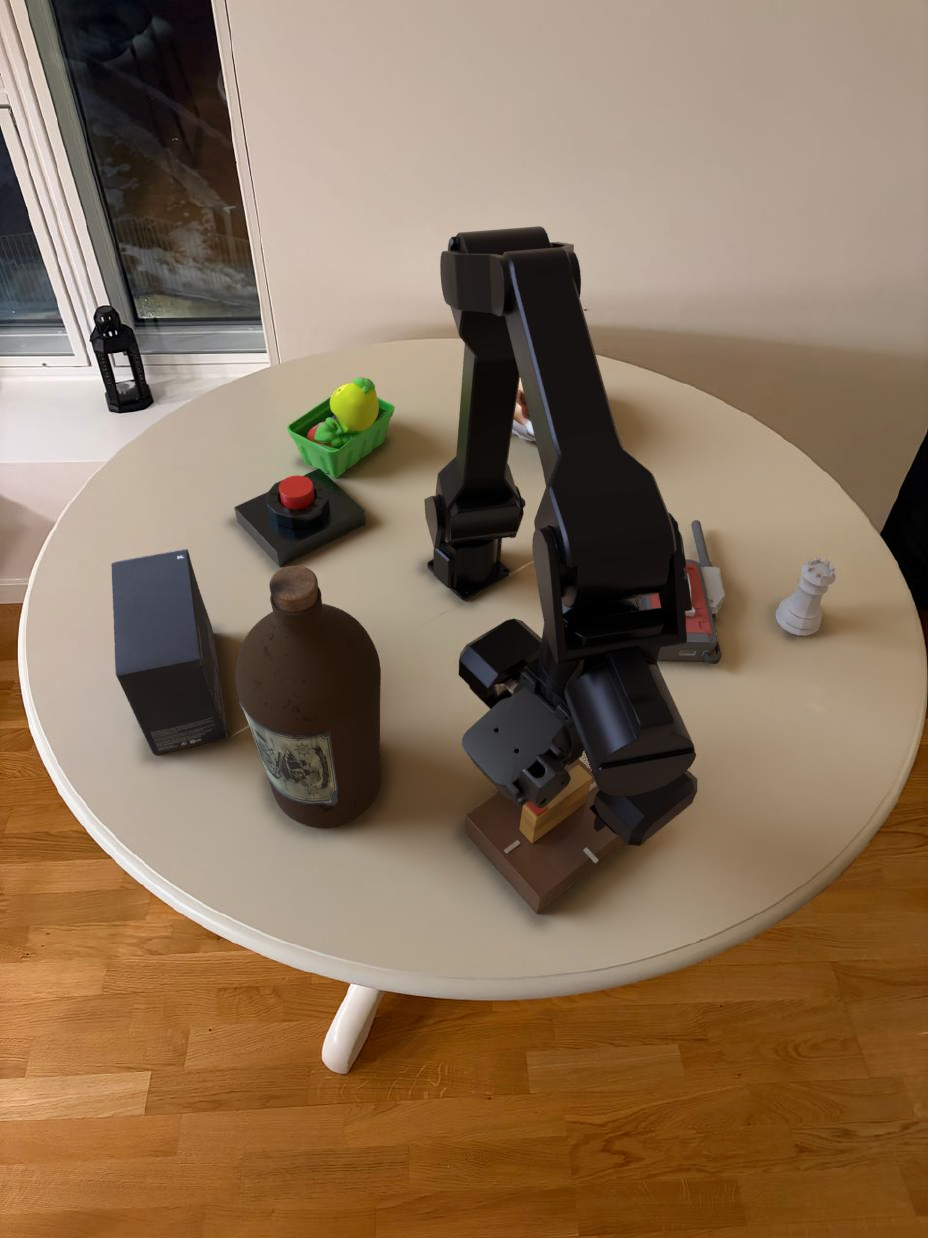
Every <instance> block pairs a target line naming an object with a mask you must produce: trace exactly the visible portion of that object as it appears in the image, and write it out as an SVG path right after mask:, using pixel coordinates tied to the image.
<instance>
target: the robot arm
mask: <svg viewBox="0 0 928 1238" xmlns="http://www.w3.org/2000/svg"><path fill="white" fill-rule="evenodd" d="M439 261H440V262H439V264H440V265H439V272H440V273H439V275H440V284H441V291H442V296H443V299H444V302H445V303H446V305H448V306H449V307H450V311H451V314H452V317H453V320H454V321H453V322H454V324H455V328H456V330H457V334H458V336H459V338H460V339H461V341H462V342H463V343H464V348H463V362H462V375H461V387H460V400H459V414H458V415H459V416H458V428H457V443H456V452H455V453H456V454H455V456H454V458H452V459H451V460H450V461H449V462H448V463H447V464H446V465H445V466H444V467H443V468H442V469H441V470H440V471H438V473H437V477H436V485H435V486H436V487H435V495H430V496H428V497H426V498H424V499H423V500H424V502H423V503H424V514H425V521H426V525H427V529H428V532H429V536H430V539H431V542H432V546H433V558H432V559H430V560H428V561H427V564H426V567H427V569H428V570H429V572H431V573H432V574H433V576H434V577H435V578H436V579H437V580H438V581H439V582H440V583H442V585H444V587H446V588H447V589H449V590H451V592H453V593H454V594H455V595H456V596H457V597H458V598H459V599H460V600H462V601H468V600H470V599H471V598H473V597H475V596H477V595H478V594H481V593H482V592H483V591H485V590H487V589H488V588H490V587H492V586H494V585H495V584H497V583H499V582H501V581H502V580H504V579H505V578H507V577H509V576H510V574H511V569H510V568H509V567H508V566H506V565H505V564H504V563H503V562H502V561H501V557H502V544H503V539H506V538H509V539H514V538H515V539H516V537H517V534H518V532H519V530H520V526H521V524H522V520H523V517H524V514H525V513H524V512H525V511H524V508H525V507H526V499H525V498H524V497H522V494H521V491H520V488H519V487H518V485H516V484H515V481H514V478H513V474H512V471H511V467H510V464H509V463H508V462H509V456H510V448H511V442H512V436H513V435H512V434H513V433H512V429H513V422H514V415H515V409H516V402H517V395H518V388H519V381H520V379H521V383H522V387H523V391H524V395H525V399H526V403H527V407H528V411H529V415H530V419H531V424H532V428H533V432H534V436H535V440H536V442H535V444H536V448H537V451H538V456H539V459H540V463H541V464H540V465H541V467H542V468H541V469H542V473H543V478H544V483H545V489H544V491H543V495H542V498H541V500H540V503H539V506H538V509H537V511H536V514H535V517H534V521H533V526H534V531H533V533H532V534H533V535H532V544H531V545H532V546H531V547H532V548H531V549H532V550H531V551H532V561H533V569H534V573H535V574H534V575H535V579H536V584H537V585H536V586H537V590H538V596H539V602H540V607H541V614H542V618H543V627H542V635H541V636H540V635H538V633H536V632H535V631H534V630H533V629H532V628H531V627H530V626H529V625H527V623H526V622H524V621H523V620H521V619H518V618H510V619H507V620H503V622H501V623H499V624H498V625H496V626H495V627H493V628H491V629H490V630H488V631H486V632H485V633H483V634H481V635H480V636H478V637H476V638H475V639H473V640H472V641H470V642H467V643H466V644H465V646H464V647H463V649H462V650H461V651H460V653H459V657H458V676H459V677H460V678H461V680H463V682H465V683H466V684H467V685H468V687H469V689H470V691H471V692H473V694H474V695H475V696H476V697H477V698H478V699H479V700H480V701H481V702H482V703H483V704H484V705H485V706H486V707H487V708H488V709H489V710H488V711H487V712H486V713H485V714H483V716H481V717H480V718H479V719H478V720H477V721H476V722H475V723H474V724H473V725H472V726H470V727H469V728H468V729H467V730H466V731H465V733H464V734H463V736H462V738H461V746H462V748H463V750H464V752H465V753H466V754H467V756H468V758H469V759H470V760H471V761H472V763H473V764H474V766H475V768H477V770H479V771H480V772H481V774H482V775H483V776H484V777H485V778H486V779H488V781H489V782H490V783H491V784H492V785H493V786H494V787H495V788H496V789H497V790H498V792H499V791H500V792H501V793H502V795H503V796H505V797H506V798H508V799H512V800H513V801H514V802H515V803H516V804H517V805H518V806H519V807H522V806H523V805H525V804H526V803H527V802H532V803H533V804H534V805H535V806H536V807H537V808H543V807H545V806H546V805H547V804H548V803H550V802H551V801H552V800H553V799H554V798H555V797H556V796H557V795H558V794H559V793H560V792H561V791H562V790H563V789H564V788H565V787H566V786H567V785H568V784H569V782H570V780H571V776H570V774H569V772H568V771H567V770H566V769H565V766H566V765H568V766H569V765H570V764H572V763H573V762H574V761H576V760H577V759H580V758H582V756H583V755H584V753H585V757H586V759H587V762H588V765H589V767H590V768H589V769H590V770H591V771H592V773H593V776H594V779H595V782H596V784H597V786H598V788H599V789H600V790H599V791H598V792H597V794H596V795H595V799H594V804H593V805H592V806H591V807H589V809H590V810H591V811H592V812H593V813H594V814H595V815H596V817H595V820H594V829H595V830H596V831H597V832H599V831H600V830H602V829H603V828H604V827H606V826H607V827H608V828H609V829H610V830H611V831H612V832H613V833H614V834H616V835H619V836H620V837H621V838H622V839H623V840H624V841H625V844H627V845H628V846H636V847H641V846H642V845H643V844H644V843H646V842H647V841H648V840H650V839H651V838H652V837H653V836H654V835H655V834H657V833H658V832H659V831H660V830H662V829H663V828H664V827H665V826H666V825H668V824H669V823H671V821H673V819H676V817H678V816H679V815H680V814H681V813H683V812H684V811H685V810H686V809H687V808H689V807H690V806H691V805H692V804H693V802H694V800H695V798H696V796H697V793H698V778H697V777H696V776H695V775H694V774H693V773H692V772H691V771H689V769H690V768H691V767H692V765H693V763H694V762H695V760H696V758H697V752H696V749H695V744H694V742H693V739H692V738H691V736H690V733H689V731H688V729H687V726H686V725H685V722H684V719H683V718H682V715H681V714H680V711H679V709H678V706H677V705H676V702H675V699H674V698H673V696H672V694H671V691H670V688H669V687H668V685H667V682H666V680H665V679H664V676H663V674H662V672H661V669H660V667H659V665H658V660H657V659H658V655H659V652H660V648H661V647H668V646H674V645H680V644H686V642H687V631H686V614H685V611H690V610H692V604H691V597H690V589H689V582H688V574H687V567H686V559H687V558H686V553H685V552H686V551H685V545H684V539H683V535H682V533H681V531H680V528H679V527H680V526H679V522H678V521H677V520H676V519H675V517H674V516H673V515H672V513H671V512H669V511H668V508H667V505H666V503H665V499H664V498H663V495H662V493H661V489H660V488H659V486H658V483H657V480H656V477H655V476H654V474H653V472H652V471H651V470H649V469H648V468H647V466H645V465H643V464H642V463H641V462H640V461H639V460H637V459H636V458H635V457H634V455H632V454H630V453H629V452H628V451H627V450H626V449H625V448H624V446H623V444H622V443H623V442H622V441H621V438H620V436H619V433H618V430H617V425H616V423H615V418H614V416H613V415H614V414H613V412H612V409H611V405H610V402H609V397H608V395H607V390H606V387H605V384H604V380H603V376H602V373H601V369H600V365H599V363H598V358H597V355H596V352H595V348H594V344H593V341H592V338H591V337H592V336H591V334H590V330H589V327H588V323H587V319H586V316H585V313H584V309H583V308H584V307H583V304H582V301H581V292H582V276H581V275H582V273H581V267H580V262H579V258H578V256H577V254H576V252H575V244H573V243H567V242H562V241H552V242H551V241H550V239H549V234H548V233H547V231H546V229H545V227H543V226H540V225H539V226H538V225H537V226H526V227H525V226H524V227H513V228H499V229H487V230H475V231H473V230H472V231H463V232H462V231H461V232H460V231H459V232H457V234H456V235H454V236H451V237H450V239H449V240H448V244H447V250H443V251H442V252H441V253H440V260H439ZM657 594H658V595H659V600H660V605H661V608H654V609H647V610H640V607H639V602H638V600H636V598H637V599H638V597H644V596H651V595H657Z"/></svg>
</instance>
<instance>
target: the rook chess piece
mask: <svg viewBox="0 0 928 1238" xmlns="http://www.w3.org/2000/svg"><path fill="white" fill-rule="evenodd" d="M830 564H831V561H830V560H828V559H827V558H825V560H824V561H822V557H815V558H814V559H813V558H811V559H809V560H808V562H806V563H804V564H803V565H802V566H801V569H800V572H801V573H800V574H801V576H800V577H799V579H798V586H797V587H796V589H795V590H794V592H793V593H791V594H790V595H789V596H787V597H785V598H784V599H783V600H782V601H781V602H780V603H779V605H778V608H776V610H775V619H776V622H777V624H778V625H779V627H780V628H781V629H782V630H783V631H785V632H787V634H790V635H794V636H797V637H801V636H802V637H806V636H809V635H813V634H816V632H817V631H818V630H819V629H820V626H821V623H822V620H823V611H822V606H821V602H822V599H823V596H824V594H826V593H827V592H828V590H829V586H830V585H832V584H834V583H835V582H836V579H837V578H836V577H837V576H836V573H835V570H836V567H835V565H834V564H832V565H830Z"/></svg>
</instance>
